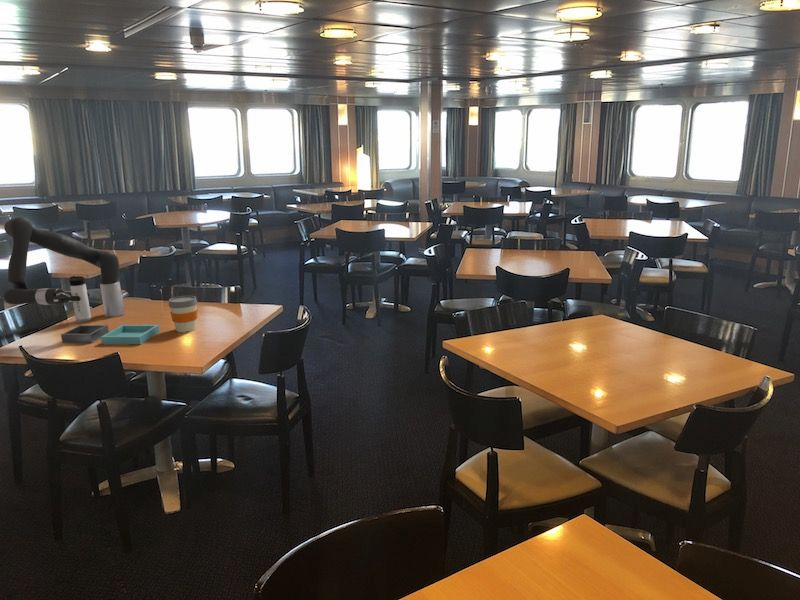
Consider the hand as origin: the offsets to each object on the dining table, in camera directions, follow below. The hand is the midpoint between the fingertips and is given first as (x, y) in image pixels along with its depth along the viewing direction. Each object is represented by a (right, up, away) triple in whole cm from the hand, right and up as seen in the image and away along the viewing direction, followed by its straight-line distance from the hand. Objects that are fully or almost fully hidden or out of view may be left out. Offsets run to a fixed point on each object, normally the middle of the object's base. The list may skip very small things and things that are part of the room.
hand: (84, 296), depth 278 cm
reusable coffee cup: (+41, -16, +13) cm, 46 cm away
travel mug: (-2, -11, +3) cm, 11 cm away
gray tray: (-2, -19, +5) cm, 20 cm away
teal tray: (+20, -19, +3) cm, 28 cm away
